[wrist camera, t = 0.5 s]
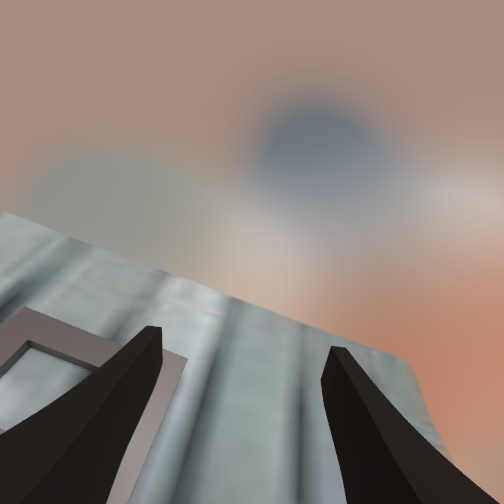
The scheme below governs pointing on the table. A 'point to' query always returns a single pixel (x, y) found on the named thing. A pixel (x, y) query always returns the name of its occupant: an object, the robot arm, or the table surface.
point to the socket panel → (92, 357)
